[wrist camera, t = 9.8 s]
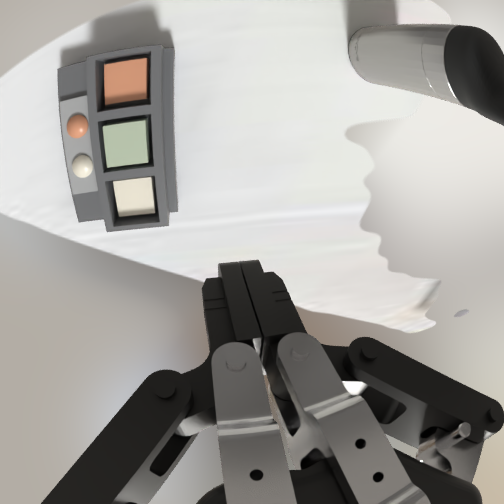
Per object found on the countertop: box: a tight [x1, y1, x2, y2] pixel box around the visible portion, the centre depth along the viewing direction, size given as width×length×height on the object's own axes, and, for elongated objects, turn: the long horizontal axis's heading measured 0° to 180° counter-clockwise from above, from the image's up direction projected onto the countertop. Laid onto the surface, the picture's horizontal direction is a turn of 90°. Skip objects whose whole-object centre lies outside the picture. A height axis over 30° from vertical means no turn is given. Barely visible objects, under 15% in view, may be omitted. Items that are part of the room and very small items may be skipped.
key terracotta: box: [104, 58, 149, 105], centre depth 23 cm, size 5×5×2 cm
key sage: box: [103, 118, 150, 168], centre depth 26 cm, size 5×5×2 cm
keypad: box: [58, 45, 178, 232], centre depth 27 cm, size 14×21×6 cm
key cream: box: [113, 176, 156, 217], centre depth 31 cm, size 5×5×2 cm
